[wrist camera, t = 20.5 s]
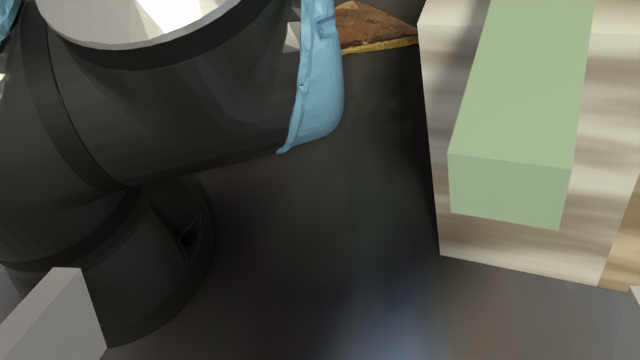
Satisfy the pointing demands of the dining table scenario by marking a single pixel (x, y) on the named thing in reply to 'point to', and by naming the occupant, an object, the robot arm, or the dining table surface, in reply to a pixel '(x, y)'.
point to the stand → (588, 164)
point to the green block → (521, 113)
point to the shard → (370, 29)
